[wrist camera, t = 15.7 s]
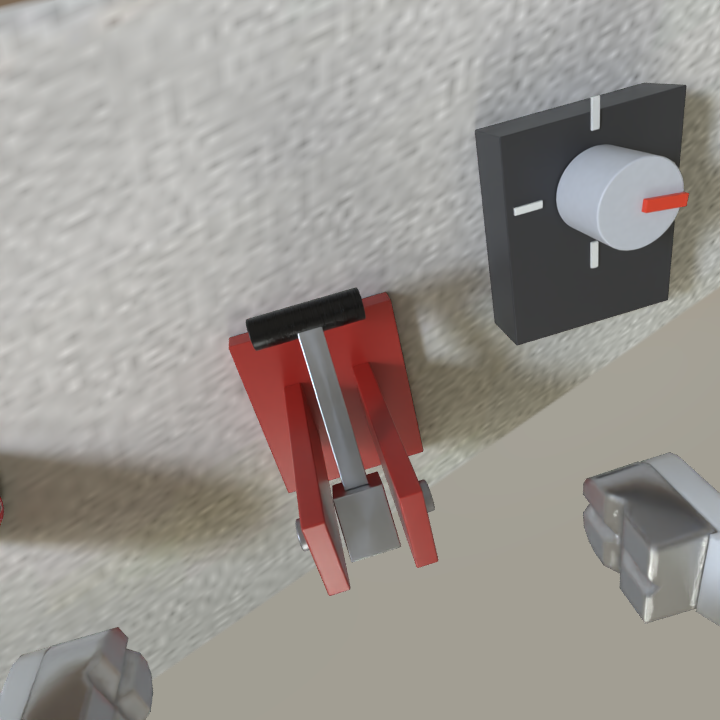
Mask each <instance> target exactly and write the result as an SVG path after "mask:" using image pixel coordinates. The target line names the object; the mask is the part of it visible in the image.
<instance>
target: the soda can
mask: <svg viewBox="0 0 720 720" xmlns="http://www.w3.org/2000/svg"><path fill="white" fill-rule="evenodd" d="M3 515H4V507H3V502H2V500H1V497H0V525H1V522H2V519H3Z"/></svg>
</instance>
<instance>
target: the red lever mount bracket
mask: <svg viewBox="0 0 720 720" xmlns="http://www.w3.org/2000/svg"><path fill="white" fill-rule="evenodd" d="M362 302H363V306H364V310H365V314H366V319H364V320H360V321H357V322H354V323H350V324H347V325H343V326H340V327H337V328H333V329H330V330H326V331H323V332H324V335H325V338H326V342H327V345H328V348H329V352H330V355H331V359H332V362H333V365H334V369H335V372H336V375H337V379H338V382H339V385H340V389H341V392H342V395H343V399H344V402H345V405H346V409H347V412H348V415H349V419H350V422H351V425H352V429H353V432H354V435H355V439H356V442H357V446H358V449H359V452H360V456H361V459H362V462H363V466H364V469H368V468H372V467H375V466H378V465H382V468H383V471H384V474H385V477H386V479H387V482H388V485H389V488H390V491H391V494H392V497H393V500H394V503H395V506H396V509H397V511H398V514H399V517H400V520H401V523H402V526H403V529H404V532H405V535H406V538H407V540H408V543H409V546H410V549H411V552H412V555H413V558H414V561H415V564H416V567H417V568H419V567H422V566H425V565H429V564H432V563H435V562H437V561H438V556H437V553H436V548H435V543H434V539H433V534H432V530H431V526H430V521H429V517H428V512H431V511H433V510H435V507H434V502H433V499H432V495H431V493H430V489H429V487H428V484H427V482H426V481H425V480H420V481H418V479H417V477H416V474H415V472H414V469H413V467H412V465H411V462H410V460H409V457H408V456H410V455H414V454H417V453H420V452H423V447H422V442H421V437H420V433H419V428H418V423H417V419H416V414H415V410H414V405H413V400H412V396H411V391H410V386H409V382H408V377H407V372H406V368H405V363H404V358H403V354H402V349H401V344H400V340H399V335H398V331H397V326H396V321H395V317H394V312H393V307H392V303H391V300H390V298H389V296H388V295H387V293H386V292H384V293H381V294H377V295H374V296H370V297H367V298H364V299H362ZM229 350H230V353H231V355H232V358H233V360H234V362H235V365H236V367H237V370H238V372H239V374H240V377H241V379H242V382H243V384H244V386H245V389H246V391H247V394H248V396H249V399H250V401H251V403H252V406H253V408H254V411H255V413H256V415H257V418H258V420H259V423H260V425H261V428H262V430H263V432H264V435H265V437H266V440H267V442H268V444H269V447H270V449H271V452H272V454H273V457H274V459H275V461H276V464H277V466H278V469H279V471H280V473H281V476H282V478H283V481H284V483H285V486H286V488H287V490H288V492H289V493H291V492H294V491H296V492H297V500H298V509H299V517H300V518H299V519H296V530H297V535H298V539H299V542H300V545H301V547H302V549H303V551H307V550H310V552H311V554H312V557H313V559H314V561H315V564H316V566H317V569H318V571H319V573H320V576H321V578H322V581H323V583H324V585H325V588H326V590H327V593H328V595H329V596H332V595H335V594H338V593H341V592H344V591H347V590H350V583H349V578H348V573H347V568H346V563H345V558H344V554H343V548H342V544H341V539H340V534H339V529H338V524H337V519H336V514H335V509H334V504H333V499H332V495H331V490H330V485H329V481H330V480H333V479H336V478H339V477H340V474H339V471H338V468H337V464H336V461H335V458H334V454H333V451H332V448H331V445H330V441H329V438H328V435H327V431H326V428H325V425H324V421H323V418H322V415H321V411H320V408H319V405H318V401H317V398H316V395H315V391H314V388H313V385H312V381H311V378H310V375H309V371H308V368H307V365H306V361H305V358H304V355H303V351H302V348H301V345H300V341H299V339H296V340H293V341H289V342H286V343H282V344H279V345H276V346H272V347H269V348H265V349H262V350H259V351H256V350H255V349H254V347H253V345H252V343H251V340H250V337H249V334H248V332H247V333H244V334H241V335H237V336H234V337H230V338H229Z"/></svg>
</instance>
